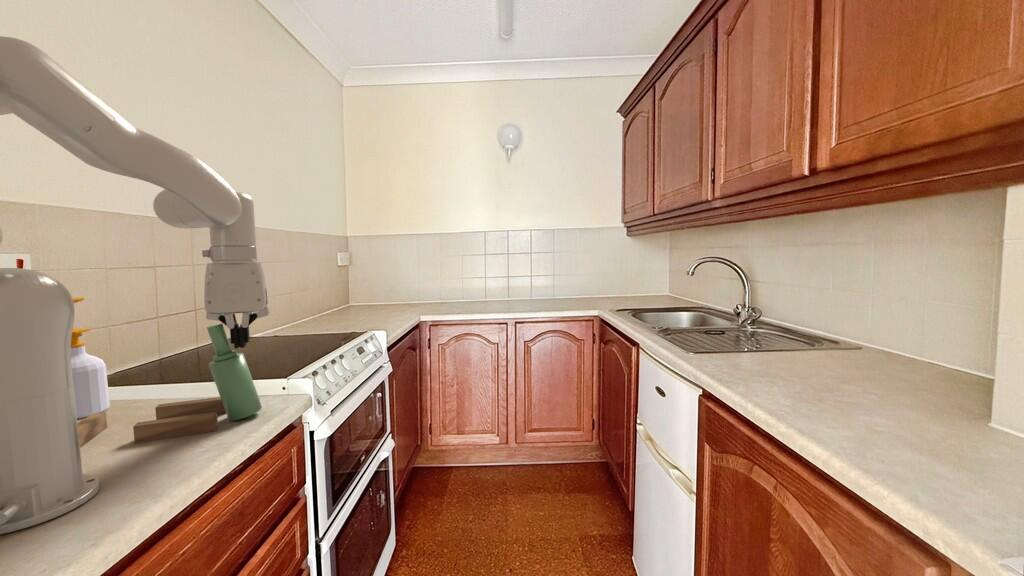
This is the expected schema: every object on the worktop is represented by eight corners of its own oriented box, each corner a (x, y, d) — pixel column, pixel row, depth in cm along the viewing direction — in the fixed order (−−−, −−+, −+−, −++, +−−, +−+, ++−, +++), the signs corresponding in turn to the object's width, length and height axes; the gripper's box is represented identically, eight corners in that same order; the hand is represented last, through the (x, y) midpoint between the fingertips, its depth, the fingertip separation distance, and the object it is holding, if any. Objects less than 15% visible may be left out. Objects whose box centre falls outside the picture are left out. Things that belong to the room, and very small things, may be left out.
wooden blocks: (215, 430, 79) (214, 415, 79) (59, 453, 71) (57, 436, 71) (229, 409, 90) (228, 395, 90) (96, 427, 82) (95, 412, 82)
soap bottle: (79, 421, 85) (66, 300, 83) (35, 421, 85) (21, 301, 83) (121, 405, 94) (111, 295, 92) (81, 405, 94) (70, 296, 92)
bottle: (259, 412, 85) (228, 323, 81) (225, 424, 82) (192, 332, 79) (264, 403, 90) (235, 319, 87) (232, 413, 88) (201, 327, 85)
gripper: (182, 256, 77) (189, 354, 79) (274, 255, 83) (280, 347, 84) (195, 256, 84) (201, 346, 86) (279, 255, 90) (284, 340, 91)
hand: (240, 346), depth 85 cm, fingers closed
